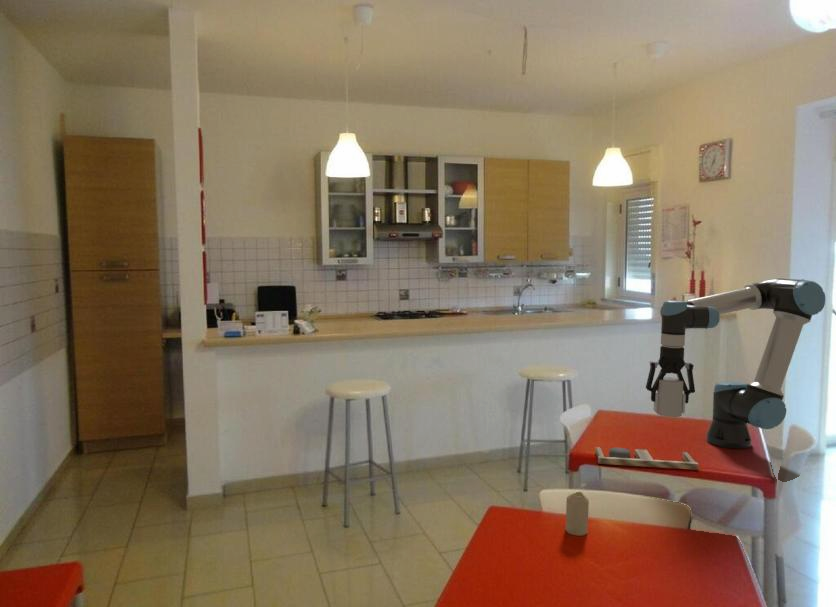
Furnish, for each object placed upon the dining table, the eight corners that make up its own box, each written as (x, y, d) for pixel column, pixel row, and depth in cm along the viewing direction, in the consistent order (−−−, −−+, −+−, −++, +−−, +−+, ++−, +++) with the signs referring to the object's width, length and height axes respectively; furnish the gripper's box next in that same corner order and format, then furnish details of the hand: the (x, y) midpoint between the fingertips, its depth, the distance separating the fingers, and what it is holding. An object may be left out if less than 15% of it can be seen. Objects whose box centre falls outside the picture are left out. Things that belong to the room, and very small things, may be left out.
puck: (628, 456, 212) (628, 448, 212) (631, 463, 205) (632, 455, 205) (607, 455, 213) (608, 446, 213) (610, 462, 206) (610, 453, 206)
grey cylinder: (677, 411, 209) (679, 377, 208) (684, 417, 201) (686, 382, 200) (653, 410, 210) (654, 376, 209) (659, 416, 202) (661, 381, 201)
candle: (572, 524, 159) (574, 487, 158) (591, 531, 155) (592, 493, 155) (561, 530, 156) (562, 493, 155) (580, 538, 152) (581, 500, 151)
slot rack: (688, 457, 211) (688, 452, 210) (698, 469, 199) (698, 463, 199) (594, 452, 215) (594, 446, 215) (598, 463, 204) (598, 457, 204)
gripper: (701, 345, 206) (698, 410, 208) (638, 343, 209) (634, 406, 211) (708, 349, 198) (704, 416, 200) (642, 346, 202) (639, 412, 204)
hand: (668, 411), depth 206 cm, fingers closed on grey cylinder, 8 cm apart
